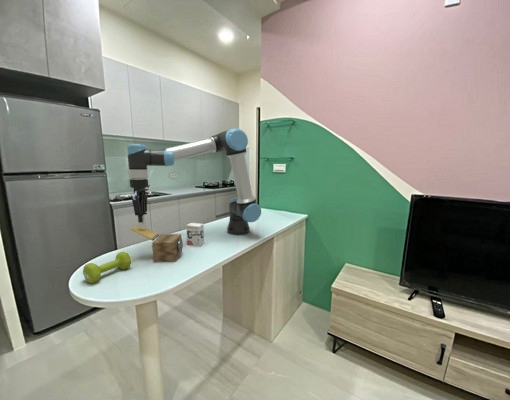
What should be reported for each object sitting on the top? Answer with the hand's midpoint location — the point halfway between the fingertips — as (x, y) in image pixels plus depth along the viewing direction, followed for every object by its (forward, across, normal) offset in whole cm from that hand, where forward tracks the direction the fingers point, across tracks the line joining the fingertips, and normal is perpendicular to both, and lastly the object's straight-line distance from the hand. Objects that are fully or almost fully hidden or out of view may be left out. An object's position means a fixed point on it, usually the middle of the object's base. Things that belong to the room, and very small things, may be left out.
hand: (142, 228), depth 106 cm
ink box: (+15, -16, +22) cm, 31 cm away
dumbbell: (+15, +16, -8) cm, 23 cm away
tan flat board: (+3, 0, +1) cm, 3 cm away
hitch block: (+15, 0, +12) cm, 19 cm away
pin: (+12, 0, +12) cm, 17 cm away
